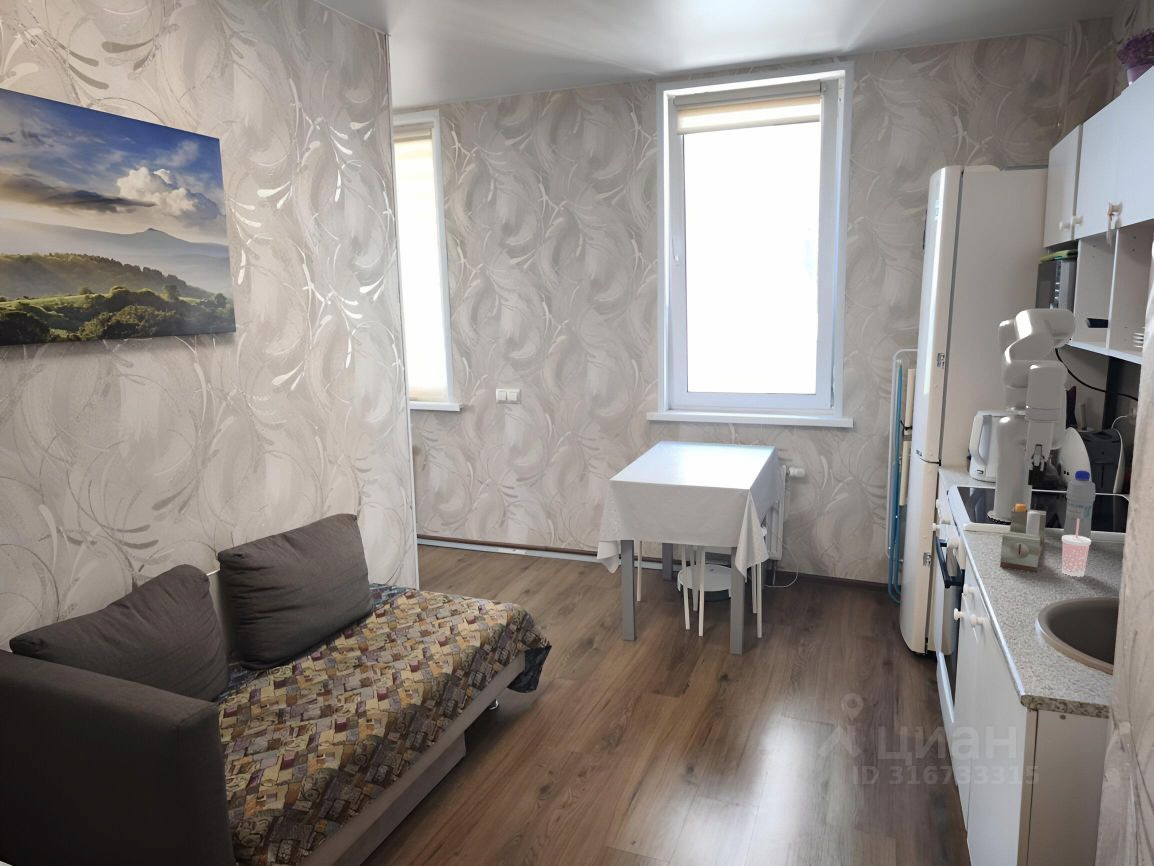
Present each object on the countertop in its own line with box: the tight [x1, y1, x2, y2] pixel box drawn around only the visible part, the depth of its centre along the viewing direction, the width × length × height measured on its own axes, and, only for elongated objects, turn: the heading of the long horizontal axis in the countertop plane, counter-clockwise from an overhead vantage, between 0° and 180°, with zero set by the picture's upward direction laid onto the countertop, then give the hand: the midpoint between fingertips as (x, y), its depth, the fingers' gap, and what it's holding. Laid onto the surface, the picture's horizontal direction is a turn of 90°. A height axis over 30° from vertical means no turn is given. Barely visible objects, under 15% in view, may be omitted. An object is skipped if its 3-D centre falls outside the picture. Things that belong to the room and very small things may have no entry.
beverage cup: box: [1061, 519, 1092, 578], centre depth 189 cm, size 6×6×14 cm
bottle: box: [1063, 470, 1097, 539], centre depth 211 cm, size 7×7×20 cm
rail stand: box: [999, 508, 1047, 574], centre depth 204 cm, size 28×8×8 cm, turn 146°
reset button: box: [1015, 504, 1027, 512], centre depth 214 cm, size 3×3×4 cm
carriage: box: [1026, 511, 1040, 535], centre depth 198 cm, size 5×7×10 cm
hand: (1036, 481), depth 195 cm, fingers open, 9 cm apart
